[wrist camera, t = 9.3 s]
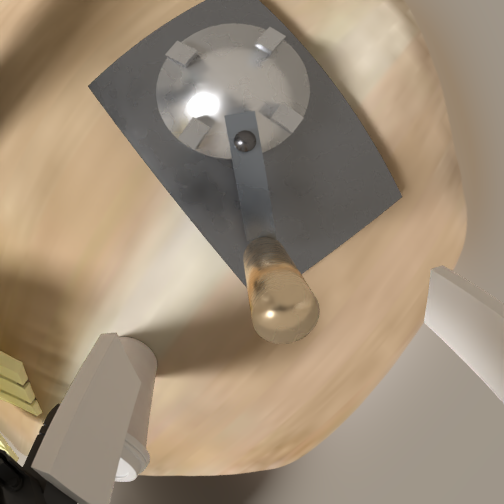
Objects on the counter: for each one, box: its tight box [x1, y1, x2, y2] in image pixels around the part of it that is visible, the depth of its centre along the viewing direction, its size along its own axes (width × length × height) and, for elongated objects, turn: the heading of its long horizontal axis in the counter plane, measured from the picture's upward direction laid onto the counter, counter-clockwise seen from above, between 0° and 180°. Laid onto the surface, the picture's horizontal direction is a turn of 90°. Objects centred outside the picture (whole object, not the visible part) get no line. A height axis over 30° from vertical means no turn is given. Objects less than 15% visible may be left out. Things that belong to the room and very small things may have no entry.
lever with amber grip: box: [156, 23, 320, 344], centre depth 15 cm, size 20×11×12 cm, turn 10°
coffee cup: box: [115, 337, 157, 482], centre depth 22 cm, size 10×10×15 cm
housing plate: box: [88, 0, 402, 287], centre depth 22 cm, size 26×17×2 cm, turn 37°
